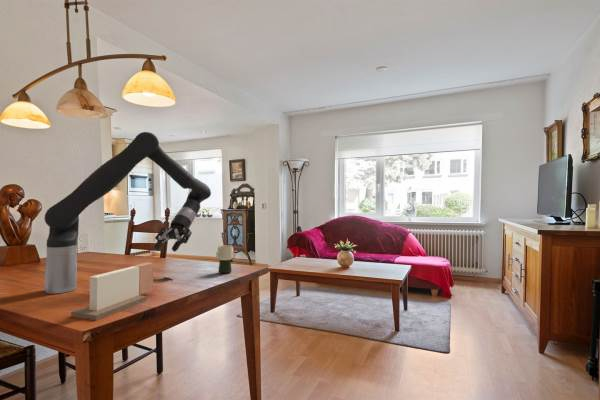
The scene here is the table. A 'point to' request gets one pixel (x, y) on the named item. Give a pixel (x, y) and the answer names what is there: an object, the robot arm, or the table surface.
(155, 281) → the parchment
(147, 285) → the stub
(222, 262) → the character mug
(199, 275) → the table surface
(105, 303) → the stand
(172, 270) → the table surface
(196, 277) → the table surface
